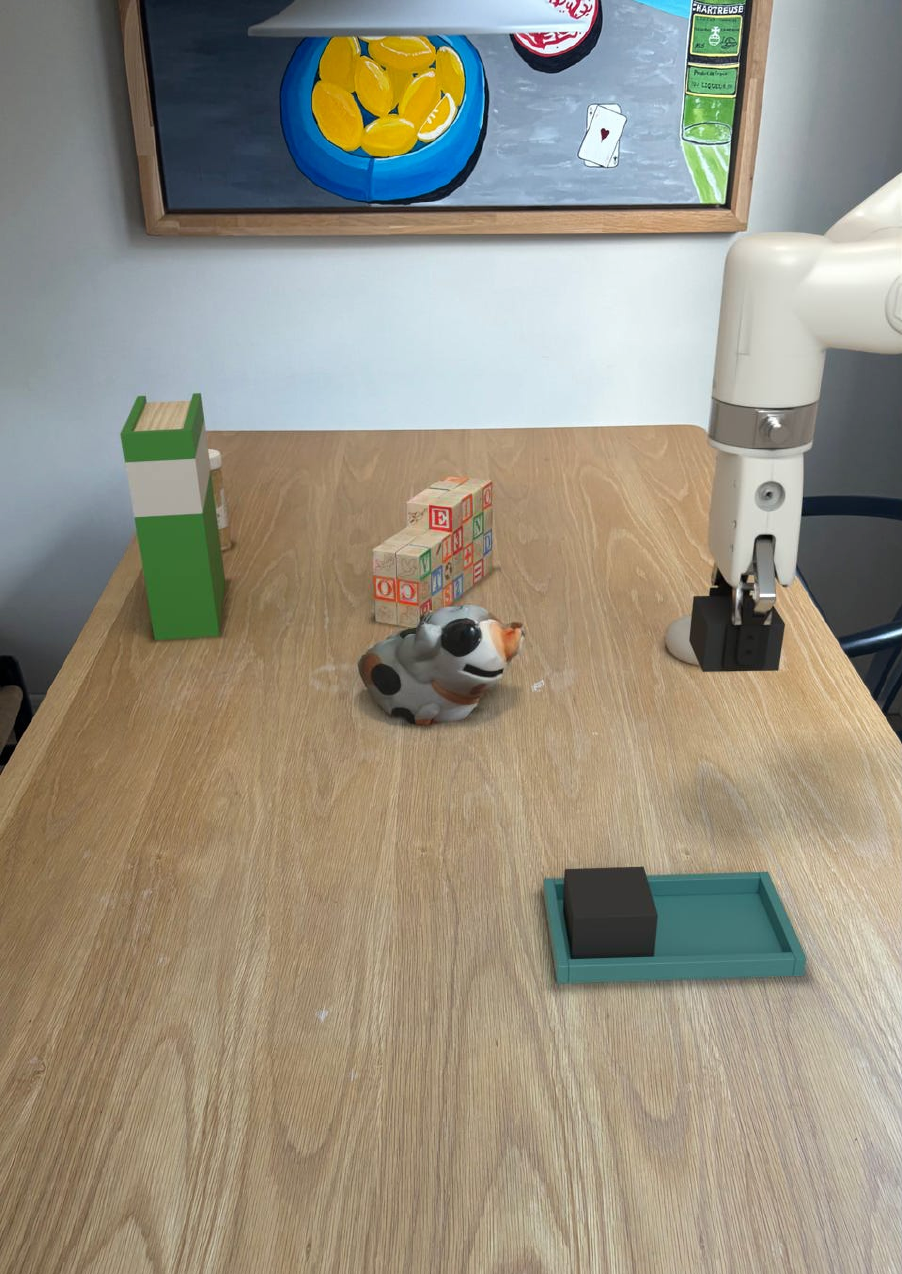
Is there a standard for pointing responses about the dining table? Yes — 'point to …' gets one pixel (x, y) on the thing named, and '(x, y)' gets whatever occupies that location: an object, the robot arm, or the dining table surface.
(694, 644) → the black square block
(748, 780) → the dining table surface
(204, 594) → the hardback book
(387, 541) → the stack of blocks
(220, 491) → the sprinkles bottle
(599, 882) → the seated pad
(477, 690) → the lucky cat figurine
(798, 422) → the robot arm
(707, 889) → the tray
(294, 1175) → the dining table surface
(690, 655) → the donut
